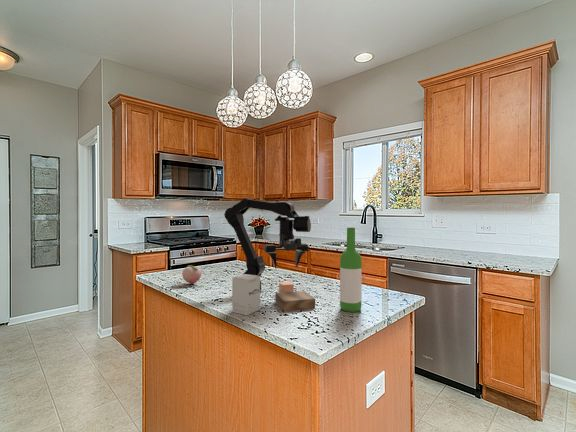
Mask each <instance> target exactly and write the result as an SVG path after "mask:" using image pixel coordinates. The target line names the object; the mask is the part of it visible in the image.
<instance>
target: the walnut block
mask: <svg viewBox="0 0 576 432" xmlns="http://www.w3.org/2000/svg"><path fill="white" fill-rule="evenodd" d="M275 303H276V304H277V305H278V306H279V307H280V309H281V310H282V311H283V312H288V311H289V312H290V311H299V310H311V309H316V298H315V297H313V296H312V295H311V294H309V293H308V292H307V291H305V290H296V291H295V290H294V292H281V293H279V292H275Z"/></svg>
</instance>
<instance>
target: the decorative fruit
mask: <svg viewBox="0 0 576 432" xmlns="http://www.w3.org/2000/svg"><path fill="white" fill-rule="evenodd" d="M202 273H203V271H202V270H201V269H200V267H198V266H195V265H193V264H191V265H190V264H189V265H187V266H186V267H185V268H184V269H183V270H182V272H181V274H182V276H181V277H182V279H183V280H184V281H185V282H187V283H189V284H191V285H194V284H196V283H197V282H198V281H199V280H200V279H201V277H202Z"/></svg>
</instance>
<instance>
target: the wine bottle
mask: <svg viewBox="0 0 576 432" xmlns="http://www.w3.org/2000/svg"><path fill="white" fill-rule="evenodd" d="M362 262H363V261H362V256H361V253H359V251H357V249H356V228H355V227H347V228H346V249H345V250H344V251H343V252H342V254H341V255H340V259H339V263H340V265H339V307H340V309H341V310H342V311H343V312H348V313H349V312H352V313H354V312H359V311H361V309H362V301H363V299H362V287H363V286H362V281H363V280H362V278H363V277H362V273H363V272H362V270H363V269H362V265H363V264H362Z"/></svg>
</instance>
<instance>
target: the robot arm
mask: <svg viewBox="0 0 576 432" xmlns="http://www.w3.org/2000/svg"><path fill="white" fill-rule="evenodd" d="M249 209H256V210H263V211H270V212H273V213H275V214H277V217H276V218H274V221H275V222H279V234H278V236H279V242H278V245H275V244H272V243H270V244H268V243H267V244H264V245H263V252H265V253H267V255H269V256H270V258H271V261H272V264H273V266H274V268H275V269H277V266H278V265H277V253H276V251H286V252H289V251H293V252H294V251H295V258H294V260H295V261H294V264H295V268H298V266H299V263H300V260H301V258H302V256H303V255H304V254H306V253H307V252H309V250H310V249H309V244H307V243H302V239H301V238H300V237H297V238H295V235H294V230H295V232H296V233H310V232H311V229H312V223H311V219H310V215H304V216H300V215H299V214H298V213H297V212H296V210H295V206H294V204H293V203H292V202H287V201H283V202H279V201H277V202H271V201H264V200H257V199H251V198H249V197H248V198H243V199H242V200H240V201H239V202H237V203H236V204H234V205H233V206H231V207H229V208H227V209H225V211H224V218H225V220H226V221H227V223H228V224H229V225H230V226H231V227H232V229H233V230H234V232H235V235H236V237H237V239H238V241H239V244H240V246H241V248H242V251H243V253H244V255H245V260H246V261H245V266H246V271H244V273H243V274H242V275H244V274H249V275H257V276H260V277H262V275H263V274H262V273H264V271H265V269H266V262H265V260H264V257H263V255H258V254H257V252H256V250H255V248H254V246H253V243H252V241H251V239H250V236H249V234H248V232H247V229H246V227H245V219H244V214H245V213H246V212H248V210H249ZM261 293H262V281H261V280H260V294H261Z"/></svg>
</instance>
